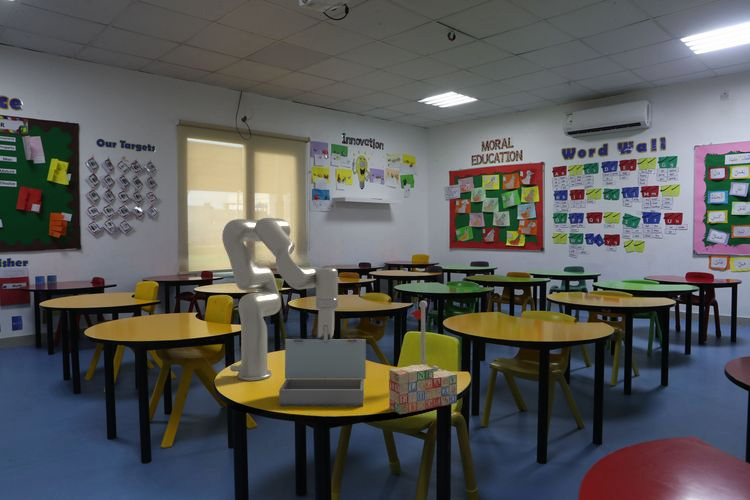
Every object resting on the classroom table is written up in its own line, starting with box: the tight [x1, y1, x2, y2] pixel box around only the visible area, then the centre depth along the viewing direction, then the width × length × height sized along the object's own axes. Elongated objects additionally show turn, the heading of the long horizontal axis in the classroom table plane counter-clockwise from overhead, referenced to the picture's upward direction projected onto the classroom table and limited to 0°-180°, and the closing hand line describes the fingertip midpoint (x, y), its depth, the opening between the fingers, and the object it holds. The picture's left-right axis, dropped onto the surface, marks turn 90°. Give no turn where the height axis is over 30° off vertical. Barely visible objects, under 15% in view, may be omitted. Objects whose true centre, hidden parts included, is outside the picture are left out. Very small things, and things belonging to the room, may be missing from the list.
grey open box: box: [278, 379, 365, 407], centre depth 153 cm, size 26×12×5 cm, turn 90°
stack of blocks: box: [388, 363, 458, 415], centre depth 148 cm, size 21×6×12 cm, turn 118°
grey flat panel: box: [284, 338, 367, 380], centre depth 160 cm, size 27×13×2 cm
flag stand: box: [409, 300, 442, 372], centre depth 171 cm, size 13×13×30 cm
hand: (327, 356), depth 164 cm, fingers closed
